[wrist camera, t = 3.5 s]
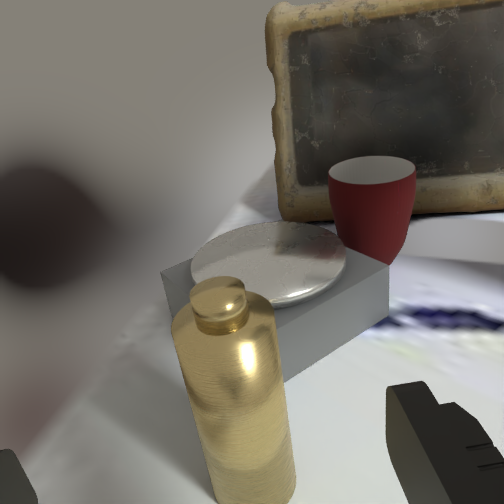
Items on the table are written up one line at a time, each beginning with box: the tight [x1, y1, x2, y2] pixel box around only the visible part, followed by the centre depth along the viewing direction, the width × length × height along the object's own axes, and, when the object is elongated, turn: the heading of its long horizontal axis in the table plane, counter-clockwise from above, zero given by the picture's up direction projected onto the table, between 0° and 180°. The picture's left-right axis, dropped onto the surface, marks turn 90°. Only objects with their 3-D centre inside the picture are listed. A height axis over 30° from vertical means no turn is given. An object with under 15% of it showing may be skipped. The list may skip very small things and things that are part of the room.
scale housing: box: [160, 220, 389, 382], centre depth 41 cm, size 14×15×5 cm
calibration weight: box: [171, 276, 296, 504], centre depth 25 cm, size 5×5×14 cm
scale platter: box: [191, 222, 346, 309], centre depth 39 cm, size 13×13×1 cm
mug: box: [328, 156, 416, 265], centre depth 47 cm, size 10×8×10 cm
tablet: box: [265, 0, 504, 223], centre depth 54 cm, size 33×14×25 cm, turn 87°
